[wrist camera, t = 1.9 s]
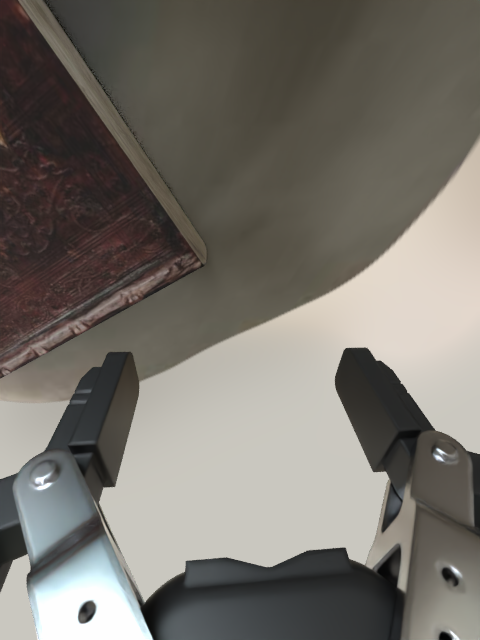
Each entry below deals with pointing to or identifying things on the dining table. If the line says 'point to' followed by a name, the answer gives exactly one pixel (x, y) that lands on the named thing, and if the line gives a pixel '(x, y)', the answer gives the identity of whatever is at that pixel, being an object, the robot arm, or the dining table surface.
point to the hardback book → (73, 197)
